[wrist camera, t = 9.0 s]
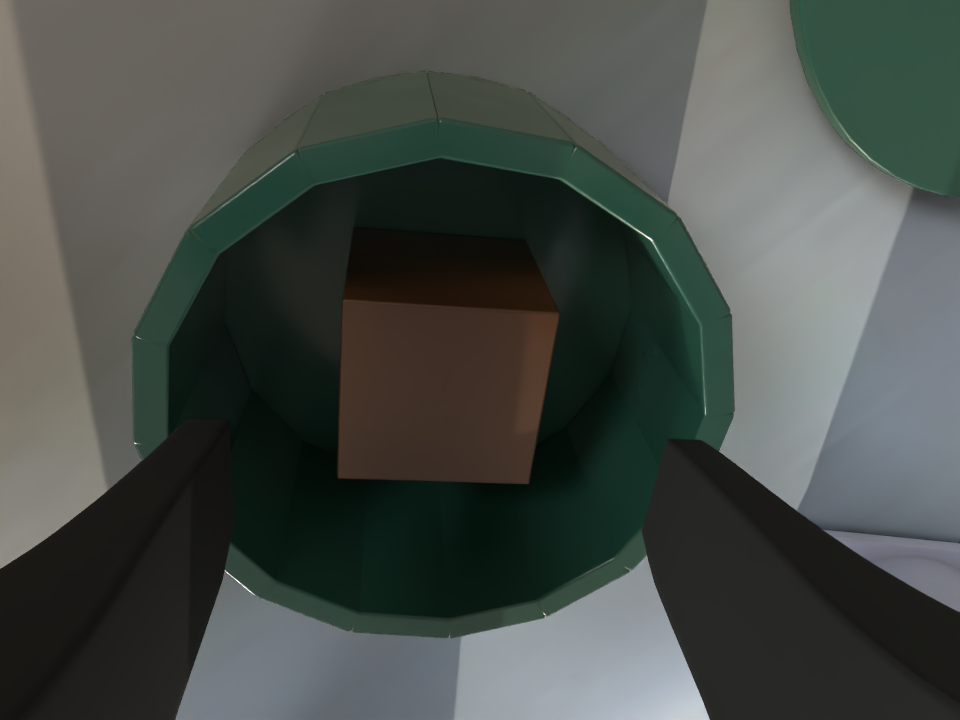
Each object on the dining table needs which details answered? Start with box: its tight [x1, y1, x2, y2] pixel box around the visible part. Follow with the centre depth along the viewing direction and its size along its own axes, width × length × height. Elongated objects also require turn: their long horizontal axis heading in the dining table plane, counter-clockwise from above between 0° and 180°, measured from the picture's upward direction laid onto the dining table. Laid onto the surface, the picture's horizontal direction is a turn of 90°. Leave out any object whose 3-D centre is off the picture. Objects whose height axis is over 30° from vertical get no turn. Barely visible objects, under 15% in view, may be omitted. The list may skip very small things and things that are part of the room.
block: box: [337, 228, 560, 484], centre depth 16 cm, size 4×4×4 cm
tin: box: [132, 71, 735, 638], centre depth 16 cm, size 11×11×6 cm
